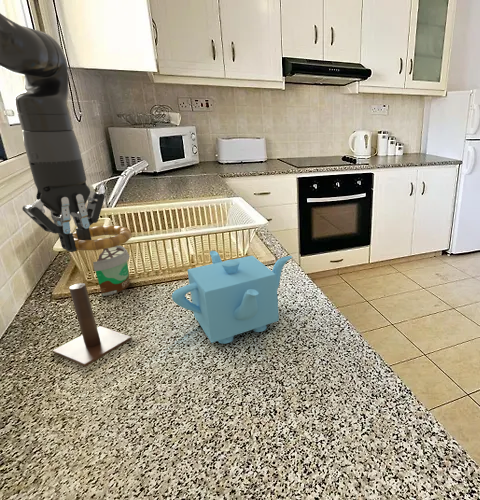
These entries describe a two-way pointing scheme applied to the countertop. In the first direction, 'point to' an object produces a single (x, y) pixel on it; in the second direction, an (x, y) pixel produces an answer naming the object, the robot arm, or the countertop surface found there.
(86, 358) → the peg stand
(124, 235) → the ring
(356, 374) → the countertop surface
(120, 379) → the countertop surface
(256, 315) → the teakettle
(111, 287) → the food container
